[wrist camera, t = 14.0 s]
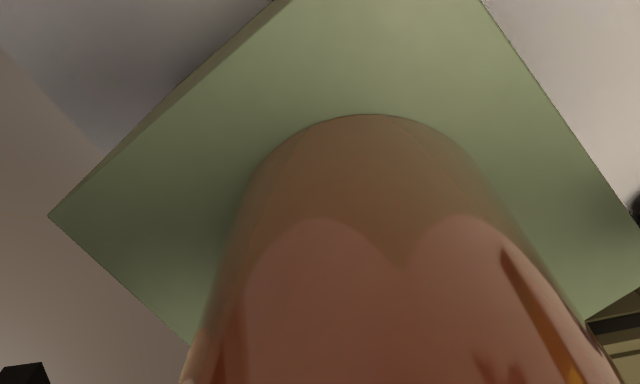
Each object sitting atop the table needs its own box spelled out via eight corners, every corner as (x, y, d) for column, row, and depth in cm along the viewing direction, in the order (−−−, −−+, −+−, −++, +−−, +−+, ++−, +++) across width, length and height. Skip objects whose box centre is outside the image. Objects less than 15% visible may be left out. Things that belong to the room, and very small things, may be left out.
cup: (179, 255, 17) (-53, 761, 6) (354, 53, 14) (428, 323, 4) (374, 392, 18) (437, 961, 8) (556, 229, 16) (951, 723, 6)
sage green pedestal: (173, 88, 30) (45, 216, 16) (365, -82, 27) (408, -104, 13) (328, 254, 34) (330, 475, 20) (512, 120, 31) (669, 270, 17)
